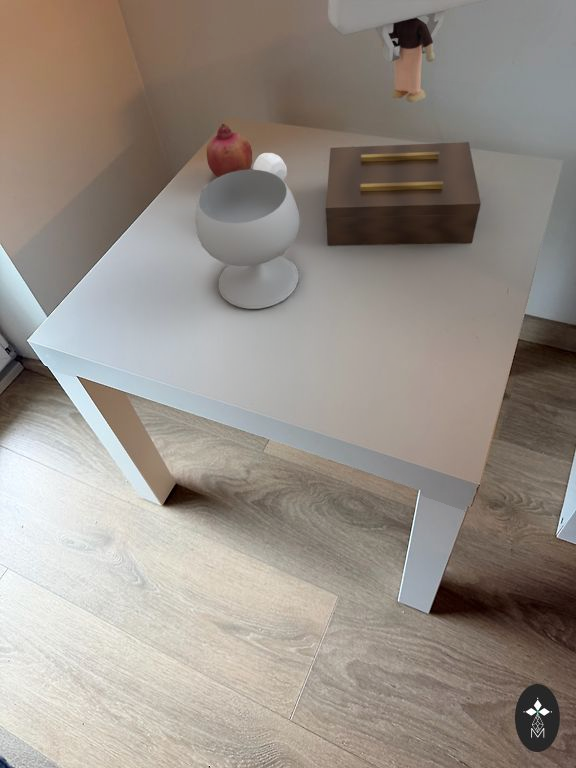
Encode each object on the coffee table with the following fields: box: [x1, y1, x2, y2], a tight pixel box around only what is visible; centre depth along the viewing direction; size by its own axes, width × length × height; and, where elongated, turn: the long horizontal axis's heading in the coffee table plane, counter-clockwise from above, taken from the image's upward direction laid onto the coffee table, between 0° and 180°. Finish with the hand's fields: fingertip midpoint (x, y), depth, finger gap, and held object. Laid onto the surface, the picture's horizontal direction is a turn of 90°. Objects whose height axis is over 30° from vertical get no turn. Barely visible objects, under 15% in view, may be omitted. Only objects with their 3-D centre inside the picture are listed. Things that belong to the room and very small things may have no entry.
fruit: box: [206, 123, 253, 178], centre depth 94 cm, size 8×8×10 cm
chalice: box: [194, 169, 300, 310], centre depth 75 cm, size 14×14×15 cm
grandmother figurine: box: [380, 17, 436, 103], centre depth 67 cm, size 8×4×13 cm, turn 60°
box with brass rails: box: [325, 141, 482, 246], centre depth 85 cm, size 22×16×8 cm
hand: (407, 55), depth 68 cm, fingers closed on grandmother figurine, 3 cm apart
